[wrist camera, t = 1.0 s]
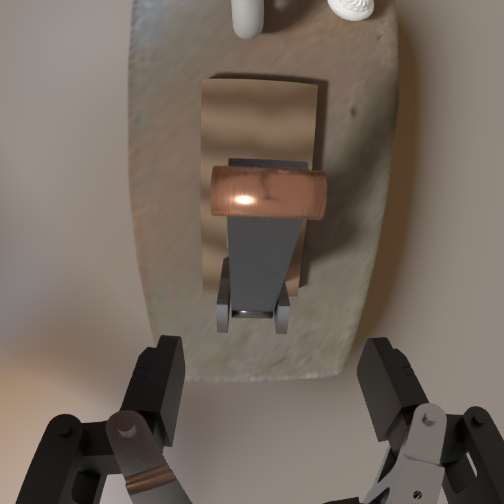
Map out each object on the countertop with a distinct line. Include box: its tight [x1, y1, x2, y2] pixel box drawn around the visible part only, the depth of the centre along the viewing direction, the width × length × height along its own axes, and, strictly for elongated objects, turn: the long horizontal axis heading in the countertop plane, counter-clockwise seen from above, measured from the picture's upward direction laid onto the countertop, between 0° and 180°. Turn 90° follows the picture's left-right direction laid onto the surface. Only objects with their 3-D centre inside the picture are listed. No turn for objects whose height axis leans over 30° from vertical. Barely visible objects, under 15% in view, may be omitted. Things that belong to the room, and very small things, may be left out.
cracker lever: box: [211, 158, 327, 318], centre depth 28 cm, size 24×6×6 cm
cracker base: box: [201, 79, 318, 334], centre depth 35 cm, size 30×14×13 cm, turn 178°
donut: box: [231, 0, 264, 39], centre depth 26 cm, size 10×4×10 cm, turn 3°
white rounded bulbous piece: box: [328, 0, 374, 21], centre depth 26 cm, size 6×6×7 cm
